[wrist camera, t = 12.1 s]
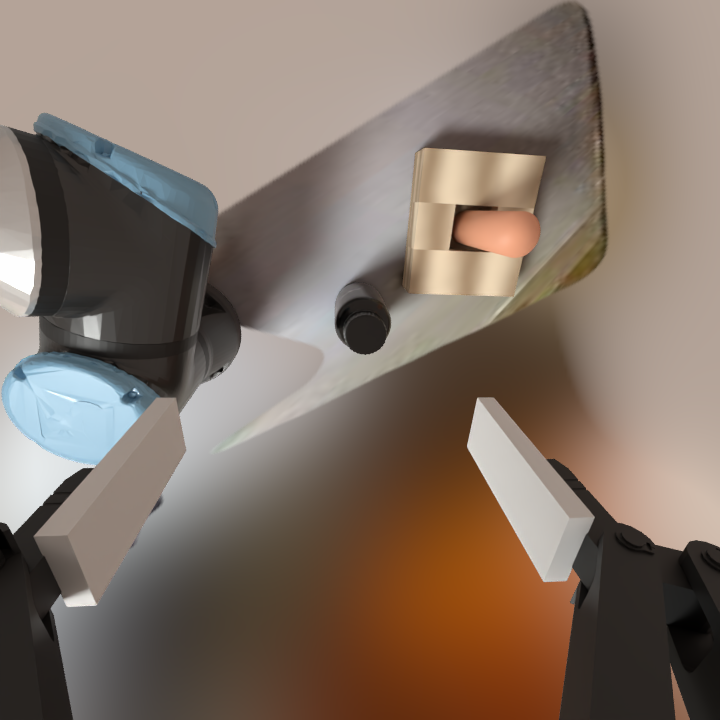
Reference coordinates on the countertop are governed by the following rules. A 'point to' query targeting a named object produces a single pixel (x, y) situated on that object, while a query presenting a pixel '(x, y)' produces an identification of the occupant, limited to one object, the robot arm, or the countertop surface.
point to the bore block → (456, 194)
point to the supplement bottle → (361, 318)
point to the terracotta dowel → (497, 231)
